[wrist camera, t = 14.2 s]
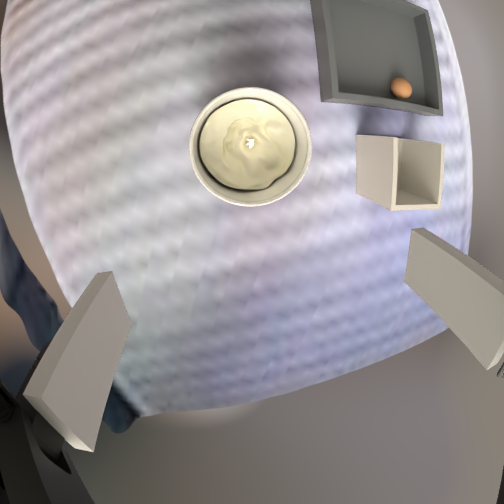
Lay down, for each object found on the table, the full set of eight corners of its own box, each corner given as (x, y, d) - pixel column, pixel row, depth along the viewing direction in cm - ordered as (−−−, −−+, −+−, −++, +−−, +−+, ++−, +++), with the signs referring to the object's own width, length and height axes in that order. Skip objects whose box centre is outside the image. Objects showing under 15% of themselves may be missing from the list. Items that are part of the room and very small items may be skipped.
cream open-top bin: (355, 134, 32) (393, 137, 24) (402, 138, 33) (444, 144, 25) (355, 193, 35) (390, 210, 27) (401, 192, 36) (440, 208, 28)
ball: (383, 87, 28) (390, 90, 30) (400, 101, 28) (406, 104, 29) (395, 71, 26) (401, 75, 28) (412, 85, 25) (418, 89, 27)
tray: (308, -10, 23) (317, -23, 19) (413, 16, 24) (427, 10, 21) (321, 101, 30) (332, 98, 27) (426, 115, 31) (443, 116, 28)
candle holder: (297, 150, 32) (335, 158, 21) (235, 199, 34) (243, 230, 23) (247, 89, 29) (261, 64, 18) (183, 140, 30) (163, 141, 20)
